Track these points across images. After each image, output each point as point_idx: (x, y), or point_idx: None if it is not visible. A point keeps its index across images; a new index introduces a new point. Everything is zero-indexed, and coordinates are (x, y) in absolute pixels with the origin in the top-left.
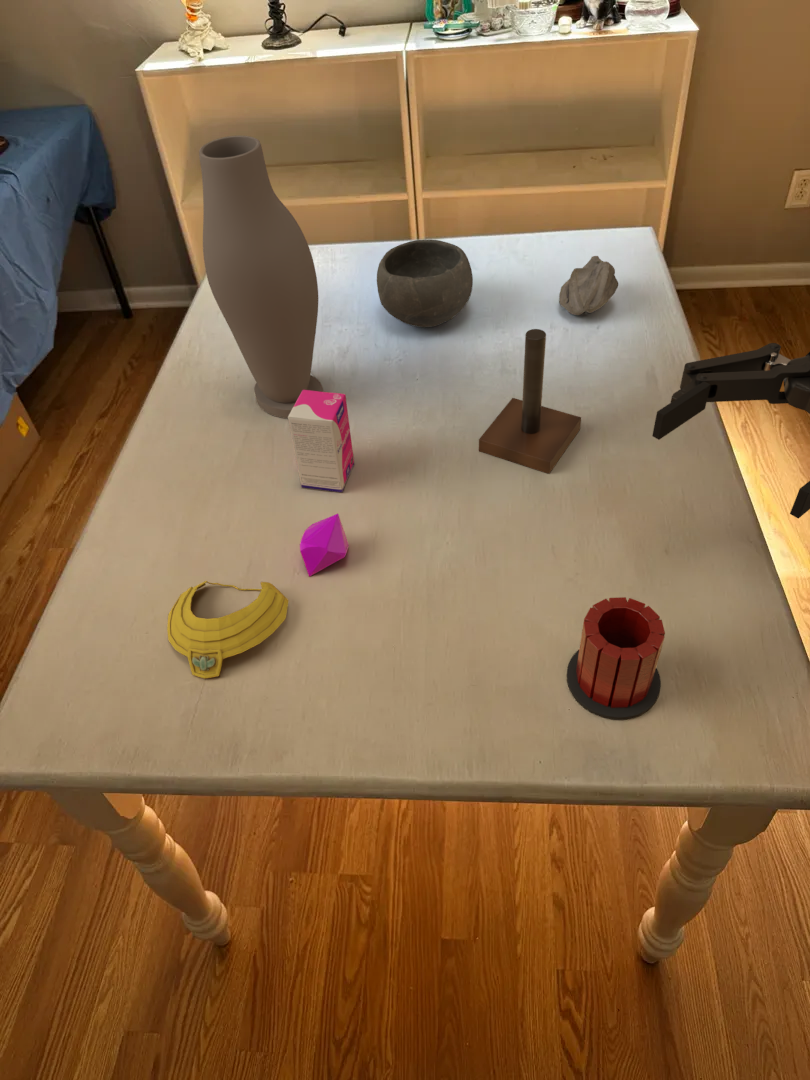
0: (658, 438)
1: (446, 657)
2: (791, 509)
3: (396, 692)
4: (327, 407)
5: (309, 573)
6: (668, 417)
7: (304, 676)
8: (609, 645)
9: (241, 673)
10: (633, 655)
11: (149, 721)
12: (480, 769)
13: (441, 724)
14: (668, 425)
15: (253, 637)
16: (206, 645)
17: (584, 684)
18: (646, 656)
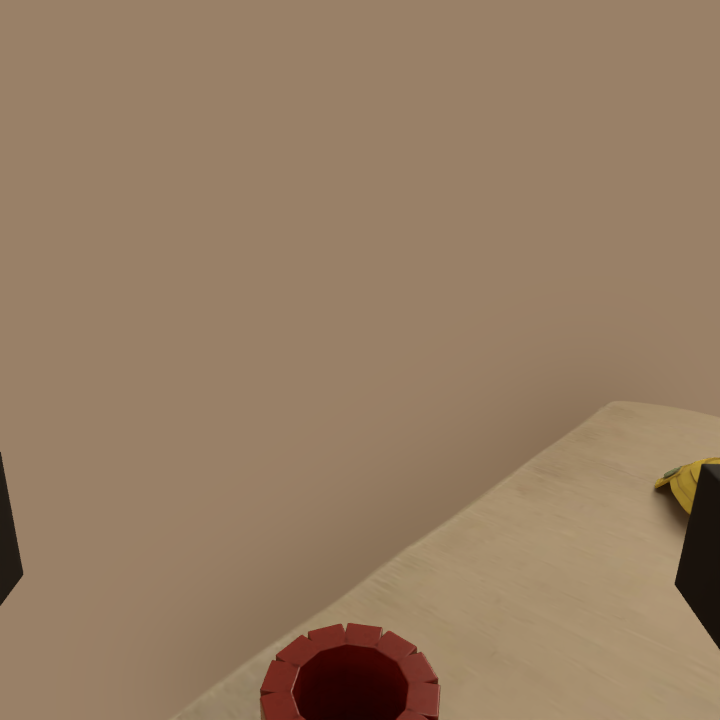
0: (678, 577)
1: (566, 656)
2: (19, 556)
3: (539, 585)
4: None
5: None
6: (716, 516)
7: (618, 536)
8: (340, 639)
9: (652, 503)
10: (290, 652)
11: (622, 449)
12: (372, 590)
13: (459, 594)
14: (710, 572)
15: (690, 499)
16: (689, 466)
17: None
18: (269, 667)
